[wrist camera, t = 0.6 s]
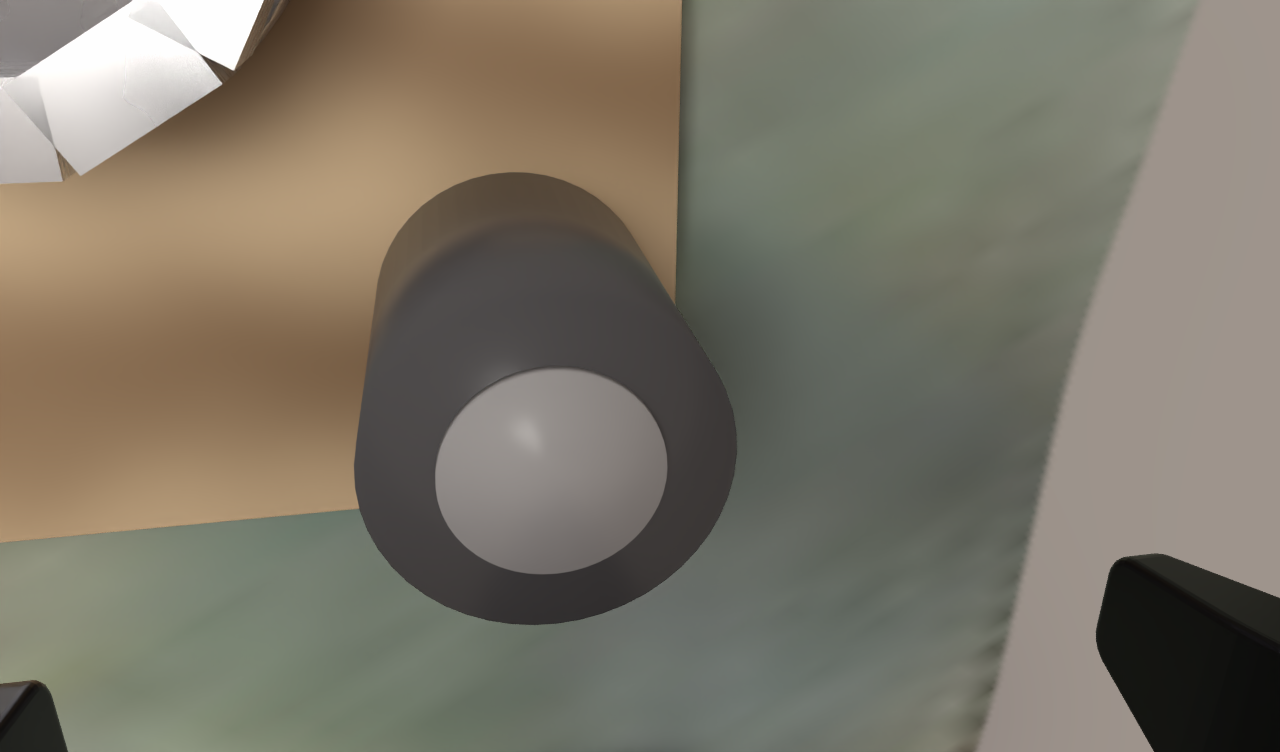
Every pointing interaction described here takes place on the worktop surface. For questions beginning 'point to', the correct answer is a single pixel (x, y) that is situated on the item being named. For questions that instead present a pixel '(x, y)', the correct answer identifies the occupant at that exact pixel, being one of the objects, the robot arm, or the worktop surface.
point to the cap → (534, 408)
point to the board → (294, 246)
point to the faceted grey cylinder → (110, 73)
